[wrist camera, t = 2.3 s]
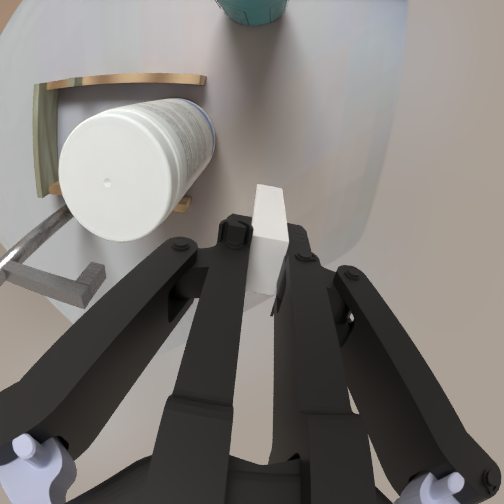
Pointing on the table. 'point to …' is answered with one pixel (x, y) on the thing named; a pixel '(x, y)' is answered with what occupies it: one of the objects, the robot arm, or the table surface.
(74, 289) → the hook post
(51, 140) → the bay board
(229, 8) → the beverage bottle
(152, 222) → the supplement tub
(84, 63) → the table surface
